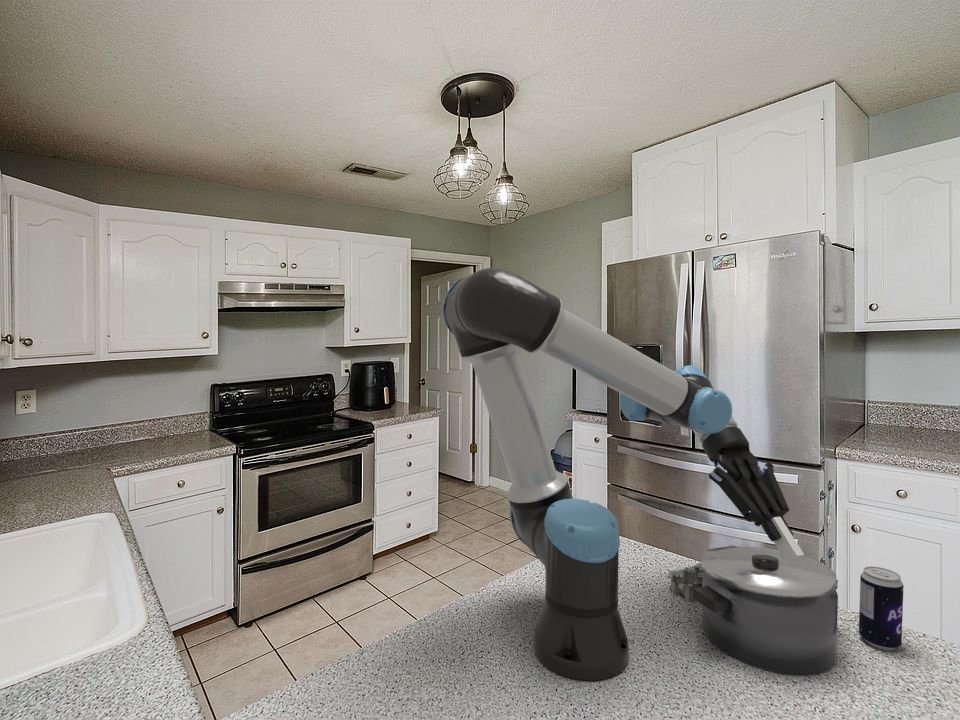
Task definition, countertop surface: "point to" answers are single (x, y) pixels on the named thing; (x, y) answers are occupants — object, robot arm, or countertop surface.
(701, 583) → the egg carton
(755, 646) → the cooker pot
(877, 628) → the beverage can
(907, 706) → the countertop surface
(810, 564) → the lid
